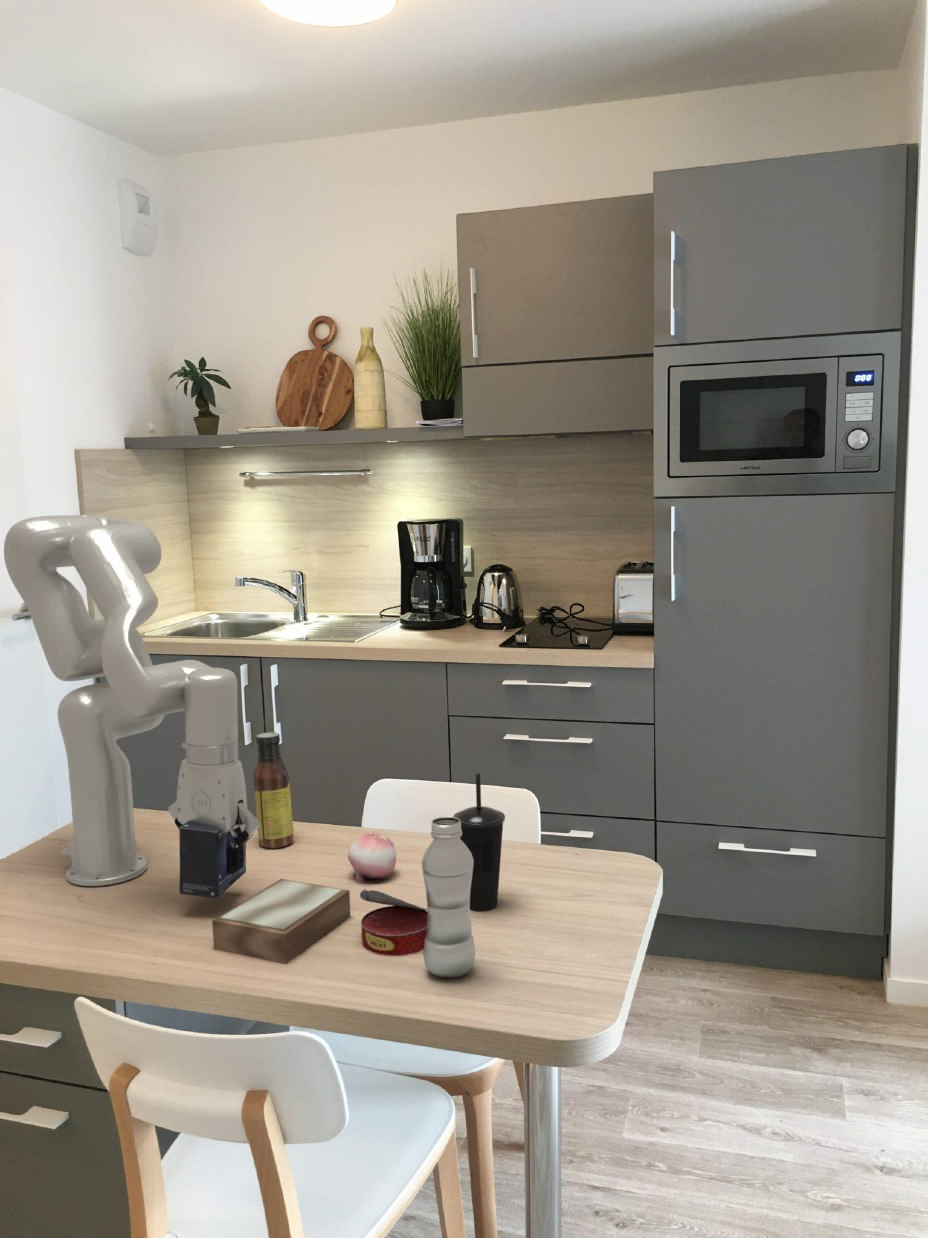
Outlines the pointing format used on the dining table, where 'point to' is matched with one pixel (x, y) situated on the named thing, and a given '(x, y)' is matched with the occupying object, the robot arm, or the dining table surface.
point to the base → (281, 920)
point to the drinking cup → (483, 850)
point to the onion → (372, 857)
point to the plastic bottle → (448, 901)
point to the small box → (205, 860)
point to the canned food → (393, 926)
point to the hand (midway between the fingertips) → (214, 865)
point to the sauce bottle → (272, 794)
